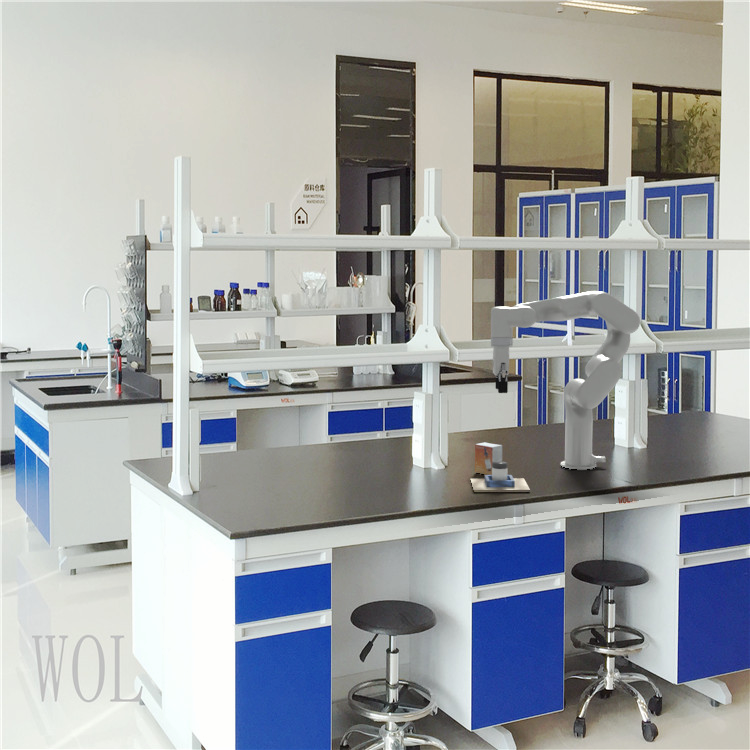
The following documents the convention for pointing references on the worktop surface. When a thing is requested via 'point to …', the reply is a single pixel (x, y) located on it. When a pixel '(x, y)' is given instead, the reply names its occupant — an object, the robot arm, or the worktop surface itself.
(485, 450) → the small box
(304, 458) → the worktop surface
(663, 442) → the worktop surface
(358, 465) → the worktop surface
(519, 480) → the mount plate
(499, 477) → the gray domed white cylinder
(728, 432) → the worktop surface
